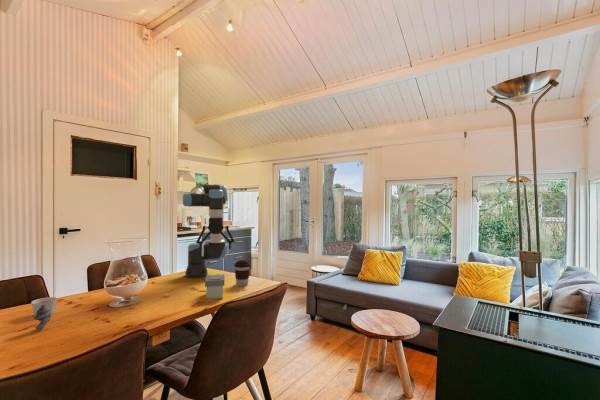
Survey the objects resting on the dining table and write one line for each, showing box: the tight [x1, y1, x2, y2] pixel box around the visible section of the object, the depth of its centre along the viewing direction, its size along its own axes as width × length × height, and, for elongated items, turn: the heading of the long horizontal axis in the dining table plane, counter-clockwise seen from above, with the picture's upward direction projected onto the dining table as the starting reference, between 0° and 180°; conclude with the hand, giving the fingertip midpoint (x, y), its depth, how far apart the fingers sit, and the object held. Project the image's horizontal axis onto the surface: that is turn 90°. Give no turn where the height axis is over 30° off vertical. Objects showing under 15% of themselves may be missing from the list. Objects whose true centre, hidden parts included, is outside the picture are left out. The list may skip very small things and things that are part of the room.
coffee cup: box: [233, 259, 251, 287], centre depth 186 cm, size 10×10×15 cm
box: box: [206, 286, 224, 301], centre depth 164 cm, size 12×8×7 cm
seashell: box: [34, 304, 53, 331], centre depth 119 cm, size 5×5×10 cm
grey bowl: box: [31, 296, 58, 317], centre depth 135 cm, size 9×9×6 cm
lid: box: [204, 274, 225, 288], centre depth 164 cm, size 13×10×4 cm
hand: (215, 255), depth 164 cm, fingers open, 13 cm apart
